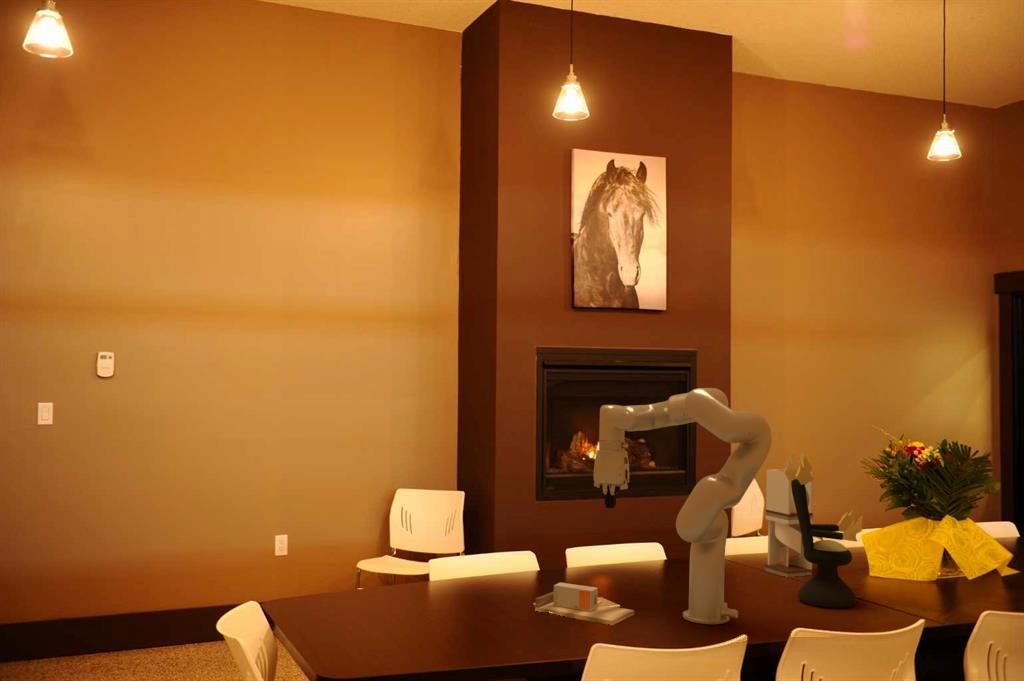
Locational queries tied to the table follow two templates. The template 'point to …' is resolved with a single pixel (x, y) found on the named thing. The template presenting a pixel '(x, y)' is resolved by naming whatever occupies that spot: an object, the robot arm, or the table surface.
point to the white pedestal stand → (785, 527)
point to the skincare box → (575, 597)
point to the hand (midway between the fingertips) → (610, 507)
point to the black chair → (822, 544)
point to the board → (599, 615)
